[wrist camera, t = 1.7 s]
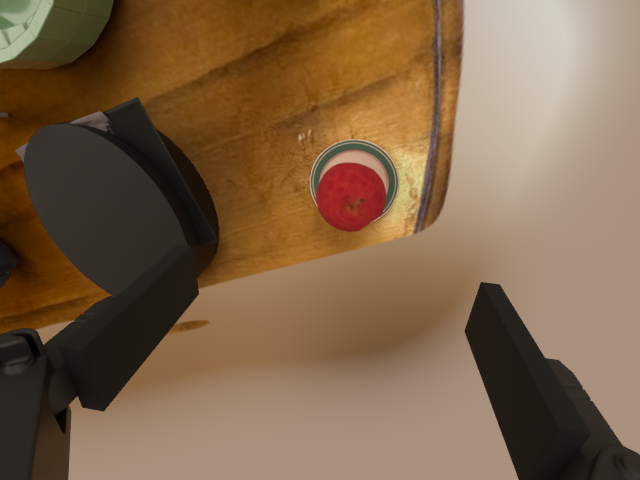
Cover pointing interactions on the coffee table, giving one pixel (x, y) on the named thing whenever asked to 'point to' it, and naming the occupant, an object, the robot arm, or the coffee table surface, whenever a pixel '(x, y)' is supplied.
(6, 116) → the figurine
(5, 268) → the portable speaker
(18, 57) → the bowl
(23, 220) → the coffee table surface
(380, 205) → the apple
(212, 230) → the tape dispenser
